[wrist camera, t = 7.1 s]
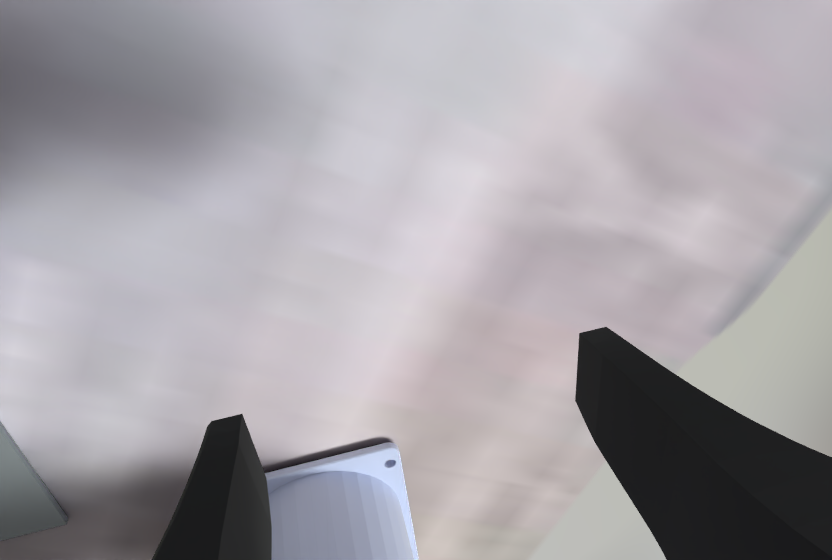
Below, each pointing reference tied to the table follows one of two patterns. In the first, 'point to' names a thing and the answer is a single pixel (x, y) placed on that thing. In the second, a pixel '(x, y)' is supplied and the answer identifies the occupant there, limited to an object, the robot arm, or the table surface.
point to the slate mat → (23, 495)
